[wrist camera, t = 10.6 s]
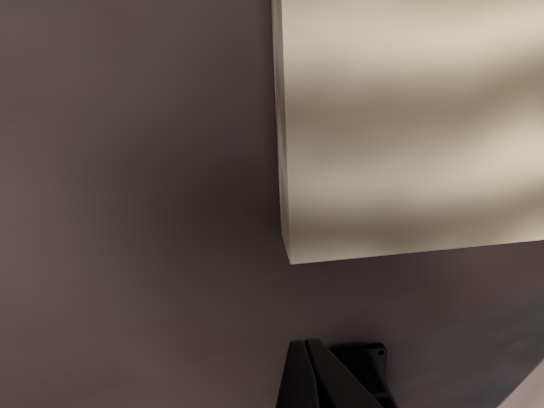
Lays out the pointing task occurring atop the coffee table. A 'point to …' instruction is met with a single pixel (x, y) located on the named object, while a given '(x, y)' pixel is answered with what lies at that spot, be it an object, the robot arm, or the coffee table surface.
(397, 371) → the coffee table surface
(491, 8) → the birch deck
